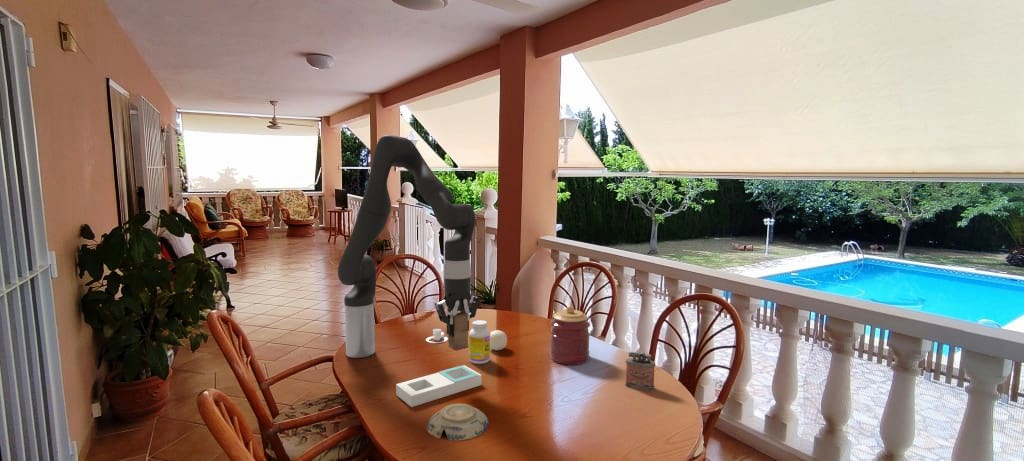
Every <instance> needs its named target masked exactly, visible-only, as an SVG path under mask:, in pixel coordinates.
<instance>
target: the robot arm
mask: <svg viewBox="0 0 1024 461" xmlns="http://www.w3.org/2000/svg"><path fill="white" fill-rule="evenodd" d="M392 167H394V168H403V169H405V170H407V171H408V172H409V173H410V174H411V175H412V176H413V178H414V182H415V188H416V190H417V191H418V193H419V195H420V196H421V197H422V199H423V200H424V201H425V202H426V203H427V204H428V205H429V206H430V207H431V210H432V212H433V215H434V217H435V219H436V221H437V223H438V224H439V225H440V226H441V227H442V228H444V229H445V230H447V231H454V232H453V236H451V237H450V238H449V237H448V238H447V239H446V240H445V241H444V265H443V291H444V296H443V300H441V301H439V302H438V301H436V302H435V303H434V306H435V310H436V313H437V315H438V318H439V321H440V322H441V323H444V324H446V335H449V336H450V337H454V324H453V323H454V316H455V315H456V314H457V312H458V311H461V312H464V313H468V332H470V320H471V319H473V318H475V317H476V315H477V310H478V306H479V303H480V297H478V296H476V295H472V294H471V291H472V266H471V250H470V249H471V247H470V245H471V242H472V238H473V234H474V229H475V226H476V214H475V211H474V209H473V206H471V205H470V204H468V203H454V204H452V202H453V193H452V192H451V191H450V189H449V188H448V187H447V186H446V185H445V184H444V183H443V182H442V181H441V180H440V179H439V178H438V177H437V176H436V174H435V173H434V172H433V170H432V169H431V168H430V166H429V165H428V164H427V162H426V161H425V159H424V157H423V156H422V154H421V153H420V151H419V150H418V148H417V147H416V145H415V143H414V142H413V141H412V140H411V139H409V138H407V137H403V136H398V135H391V134H385V135H382V136H380V138H379V139H378V141H377V143H376V144H375V148H374V152H373V157H372V162H371V167H370V172H369V176H368V180H367V183H366V187H365V191H364V194H363V197H362V200H361V202H360V206H359V208H358V212H357V215H356V219H355V222H354V225H353V229H352V232H351V234H350V237H349V240H348V242H347V245H346V246H345V250H344V251H343V254H342V256H341V258H340V260H339V264H338V267H337V276H338V280H339V281H340V283H341V284H343V285H344V286H353V287H352V288H351V290H350V291H349V292H347V294H345V296H344V300H343V301H344V302H343V303H344V327H345V328H344V330H345V332H344V333H345V356H347V357H348V358H353V359H360V358H366V357H369V356H372V355H374V354H375V350H376V349H375V314H374V313H375V312H374V308H375V307H374V299H375V296H376V289H377V288H376V285H377V268H376V263H375V261H374V259H373V257H371V256H370V255H368V254H366V253H367V251H368V249H369V248H370V246H371V245H372V244H373V242H374V241H375V240H376V239H377V238H378V237H379V236H380V234H382V232H383V230H384V229H385V227H386V225H387V223H388V219H389V217H390V213H391V210H392V201H391V196H390V192H389V189H388V179H389V176H390V171H391V170H392ZM445 309H446V311H445Z"/></svg>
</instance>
